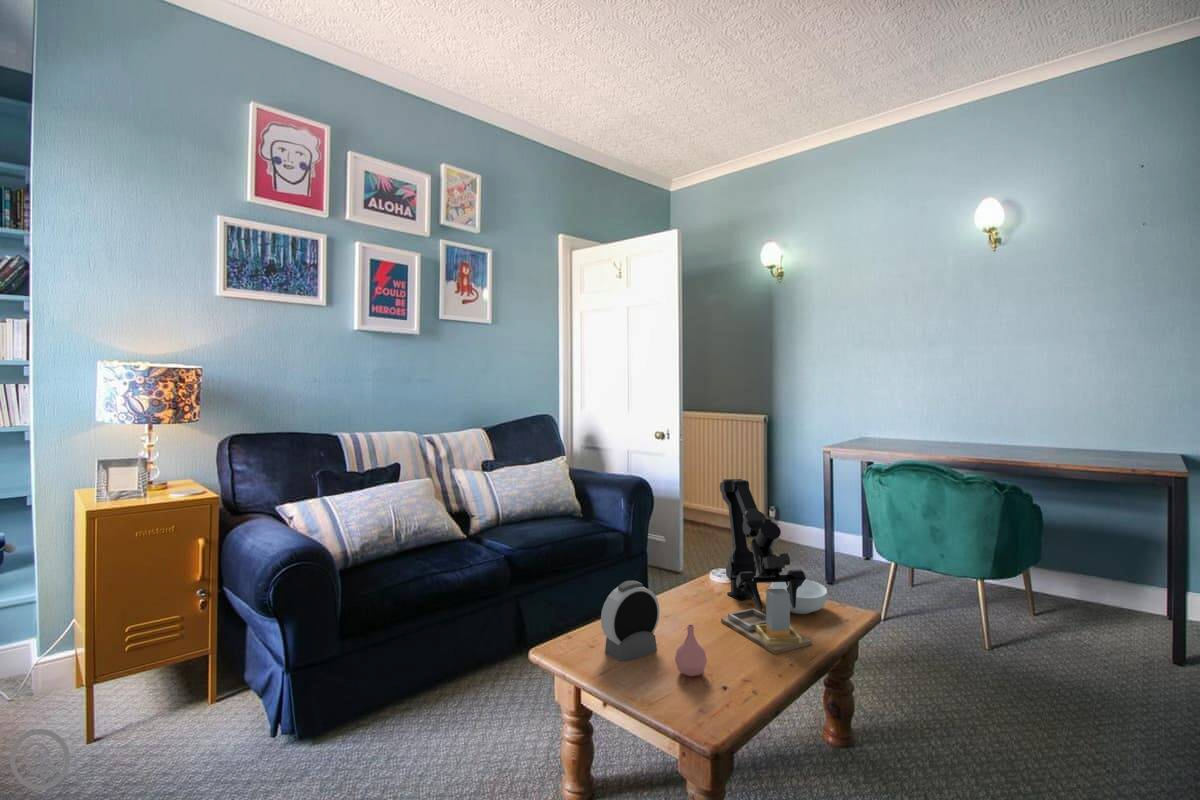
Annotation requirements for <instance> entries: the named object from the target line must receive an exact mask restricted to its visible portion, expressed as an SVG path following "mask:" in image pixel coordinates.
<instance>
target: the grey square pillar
mask: <svg viewBox="0 0 1200 800" xmlns="http://www.w3.org/2000/svg"><path fill="white" fill-rule="evenodd" d="M765 593H766V594H765V597H766V598H765V606H766V607H765V614H766V634H767V635H768V636H769V637H770V638H784V637H790V626H791V624H790V623H791V612H790V594H789V593H788V592H787V591H786V590H785V589H771V588H769V589H768V588H766V589H765Z"/></svg>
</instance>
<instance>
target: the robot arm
mask: <svg viewBox="0 0 1200 800" xmlns="http://www.w3.org/2000/svg"><path fill="white" fill-rule="evenodd" d="M719 490H720V493H721V496H722V499H723V501H724V502H725V504H726V505H727V507H728V515H729V522H730V523H729V524H730V533H731V540H732V541H731V542H732V550H731V553H730V555H729V561H728V563H727V565H726V568H725V575H726V577H727V578H728V580H729V581H730V591H728V592H726V594H727V595H728V596H730V597H732V598H734V599H736V600H738V601H743V600H746V599H752V601H754V603H755V605H757V607H758V608H759V609H760V610H763V608H764V607H763V602H762V598H761V596H760V593H759V589H758V584H763V583H767V584H768V583H772V582H786V585H787V586H788V587H787V592H788V593H789V594H790V602H791V605H792V607H793V608H795V607H796V592H797V589H798V587H800V586H801V585H802V583H803V582H804V580H805V579H806V580H807V578H806V574H805V572H804V571H803V570H802V569H789V571H788V572H787V574H780V573H782V572H783V569H786V567H787V566H789V565H791V558H790V555H789V553H788V552H787V553H783V552H782V553H780V555H778V556H777V555H776V554H774V550H773V547H775V545H776V544H777V542H778V540H779V539H780V536H781V528H780V527H779V526H778V524H776V523H775V522H772V520H771V518H767V517H766V515H765V514H764V513H763V512H761V511H760V510H759V509H758V507H757V504H756V502H755V500H754V496H753V495H752V492H751V489H750V483H749V480H746V479H742V478H724V479H723V480H722V482H720V484H719ZM747 538H753V539H752V540H751V542H750V549H749V547H748V542H747ZM757 574H758V575H757Z"/></svg>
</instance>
